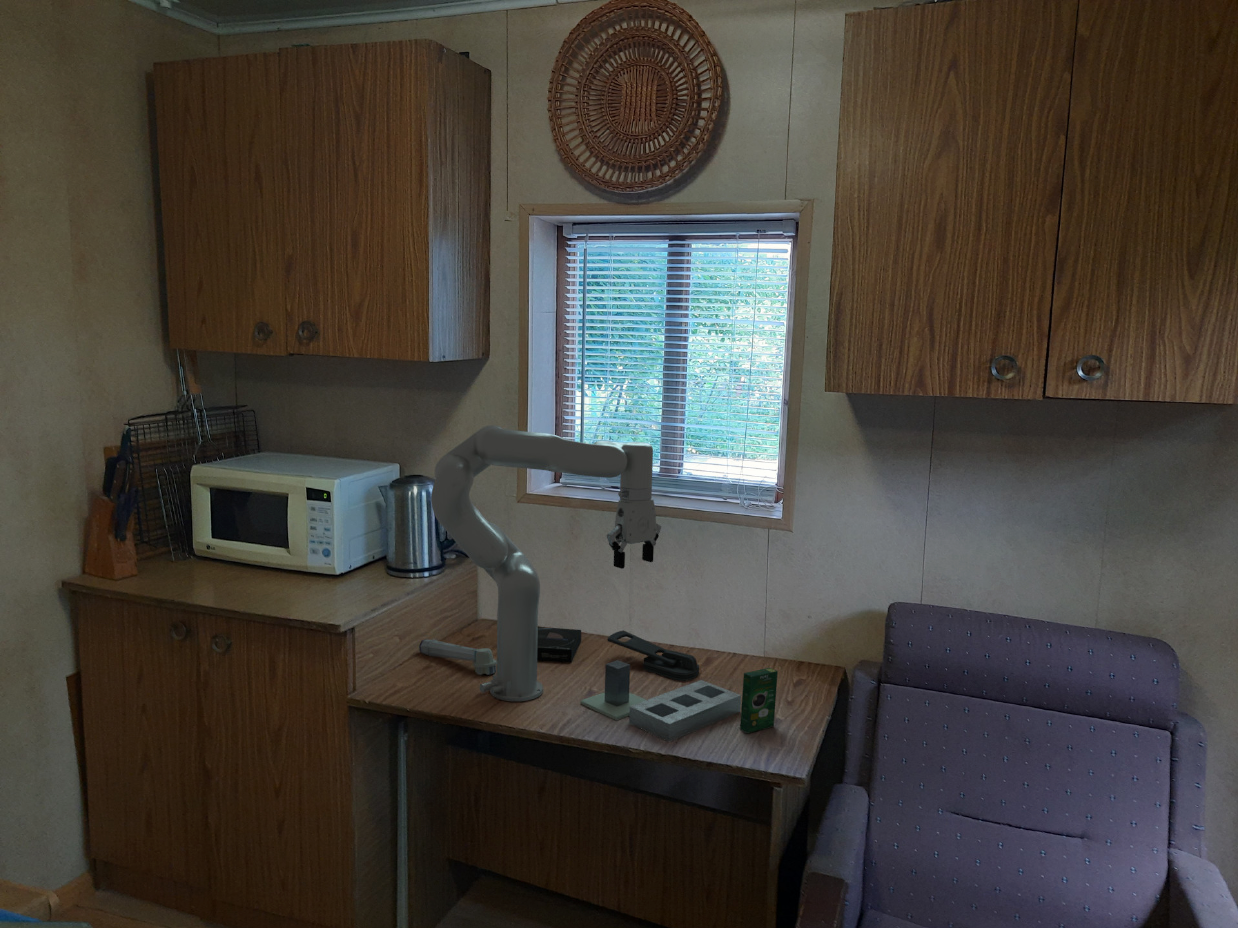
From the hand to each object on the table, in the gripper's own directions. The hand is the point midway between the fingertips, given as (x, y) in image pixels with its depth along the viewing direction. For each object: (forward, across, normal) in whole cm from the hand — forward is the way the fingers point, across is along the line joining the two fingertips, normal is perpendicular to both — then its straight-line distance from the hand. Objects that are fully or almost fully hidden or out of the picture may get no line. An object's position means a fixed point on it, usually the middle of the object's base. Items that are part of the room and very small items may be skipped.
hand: (633, 564), depth 219 cm
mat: (+30, -11, -7) cm, 33 cm away
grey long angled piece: (+31, -24, +39) cm, 55 cm away
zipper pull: (+31, +13, +5) cm, 34 cm away
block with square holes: (+30, -4, -22) cm, 38 cm away
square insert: (+30, -11, -7) cm, 32 cm away
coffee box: (+31, +4, -36) cm, 47 cm away
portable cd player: (+31, 0, +32) cm, 45 cm away
